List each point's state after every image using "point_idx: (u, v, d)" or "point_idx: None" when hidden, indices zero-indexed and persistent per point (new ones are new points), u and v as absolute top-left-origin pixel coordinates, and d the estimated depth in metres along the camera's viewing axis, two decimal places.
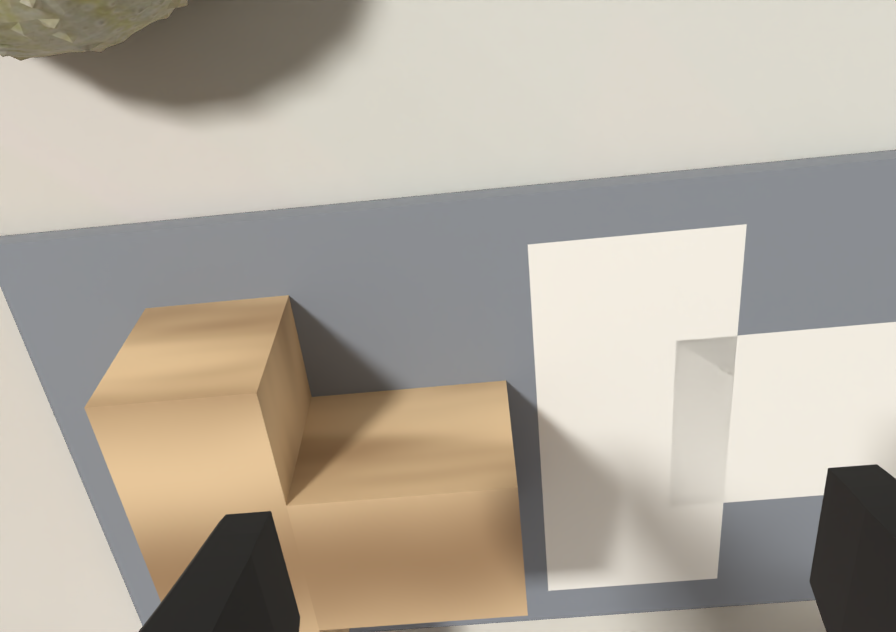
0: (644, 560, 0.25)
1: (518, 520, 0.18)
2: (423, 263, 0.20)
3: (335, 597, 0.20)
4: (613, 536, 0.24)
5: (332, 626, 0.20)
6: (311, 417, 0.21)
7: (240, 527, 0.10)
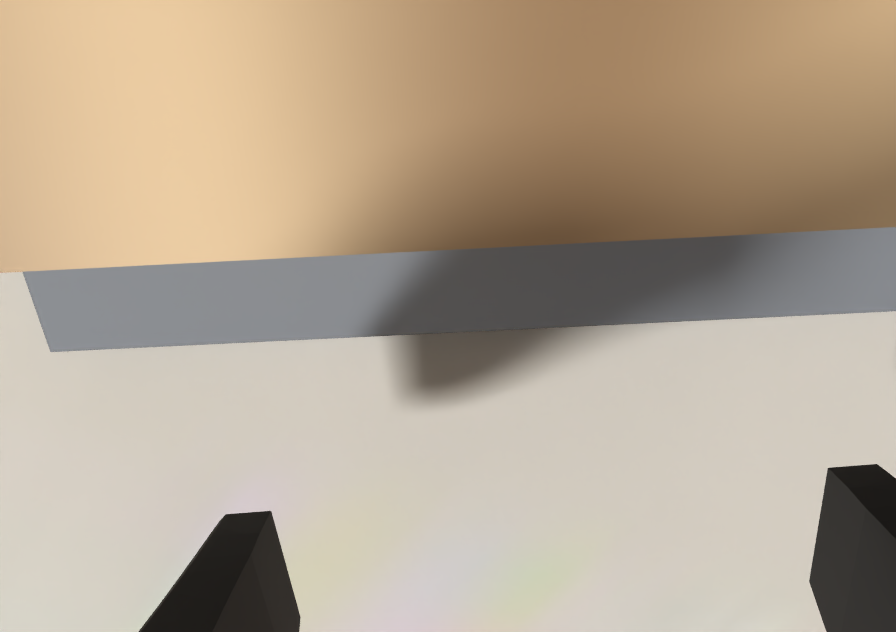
0: None
1: None
2: None
3: None
4: None
5: None
6: None
7: (241, 527, 0.10)
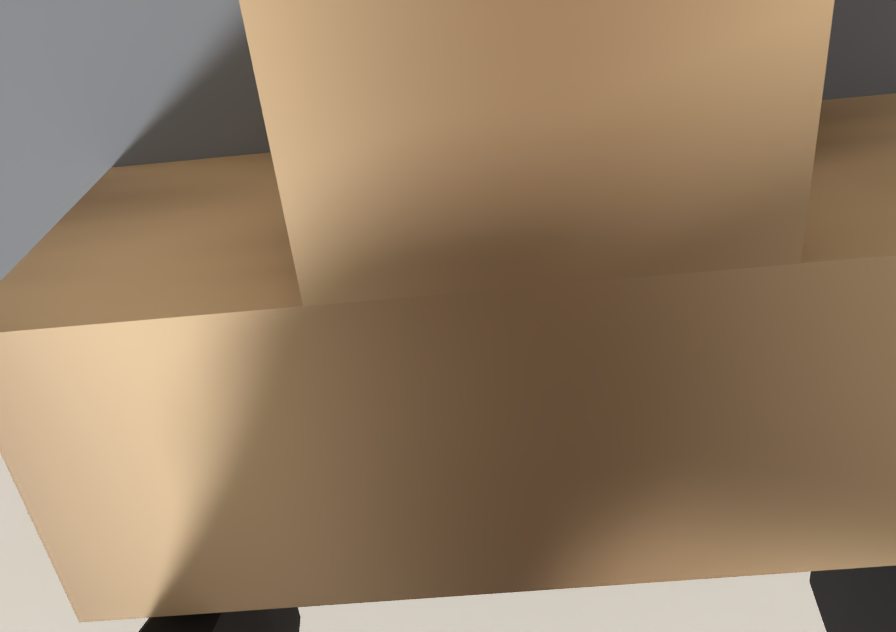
0: None
1: None
2: None
3: (667, 208, 0.06)
4: None
5: (793, 225, 0.07)
6: None
7: None
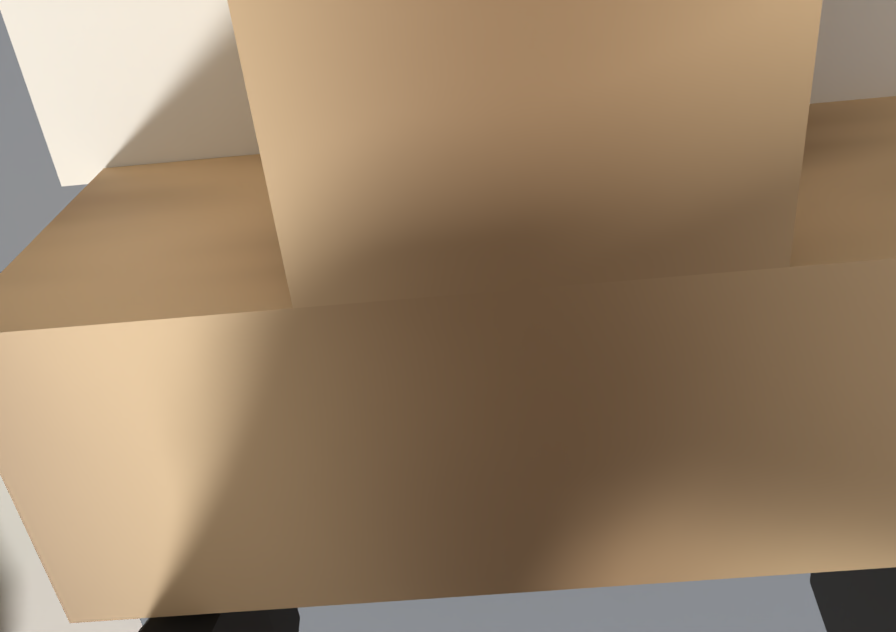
0: None
1: None
2: None
3: (656, 212, 0.06)
4: None
5: (781, 229, 0.07)
6: None
7: None
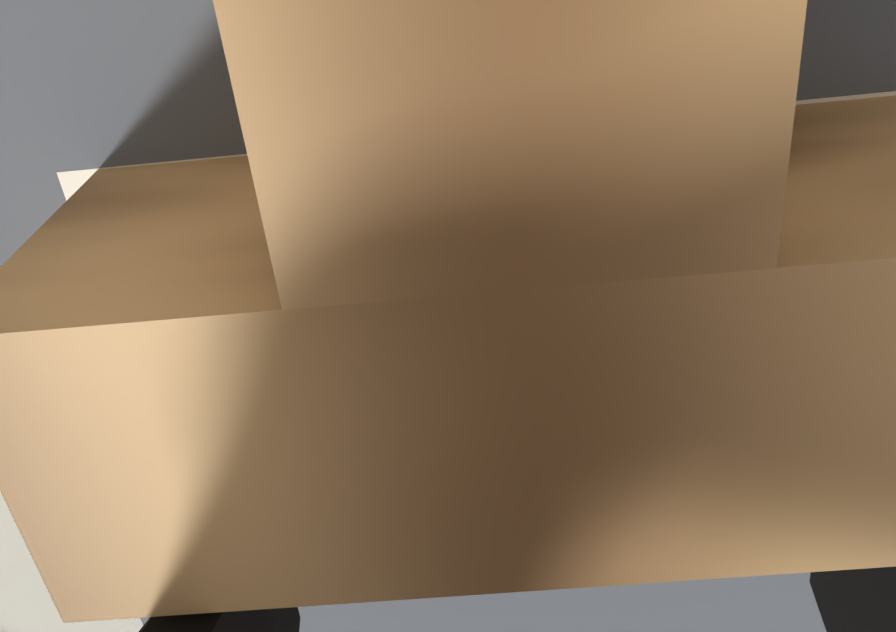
0: None
1: None
2: None
3: (643, 213, 0.07)
4: None
5: (769, 230, 0.07)
6: None
7: None
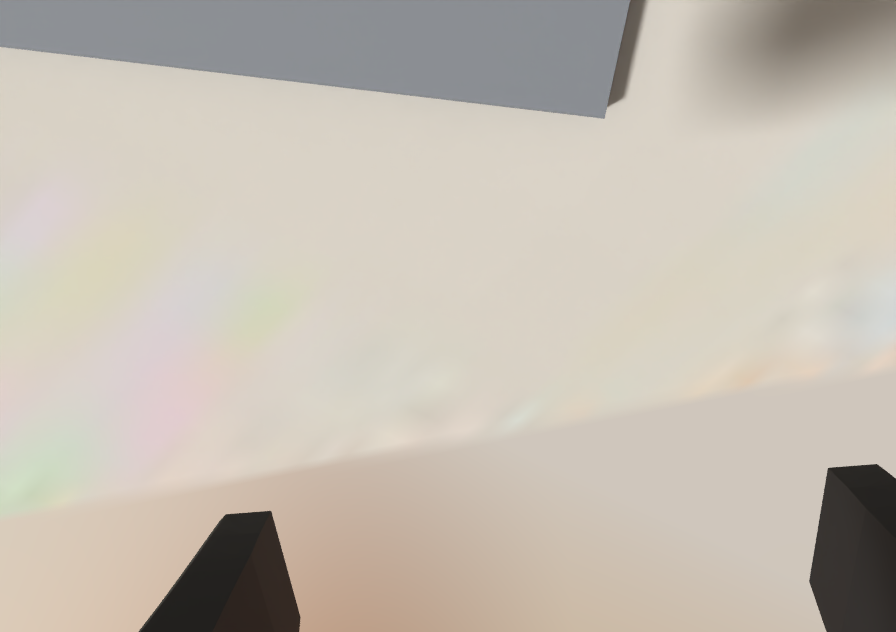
0: None
1: None
2: None
3: None
4: None
5: None
6: None
7: (241, 527, 0.10)
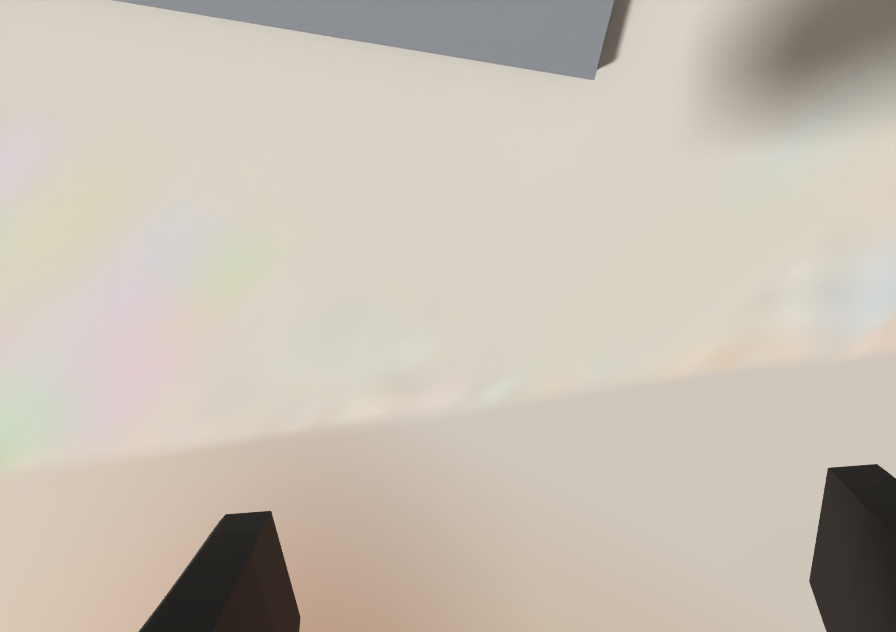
0: None
1: None
2: None
3: None
4: None
5: None
6: None
7: (241, 527, 0.10)
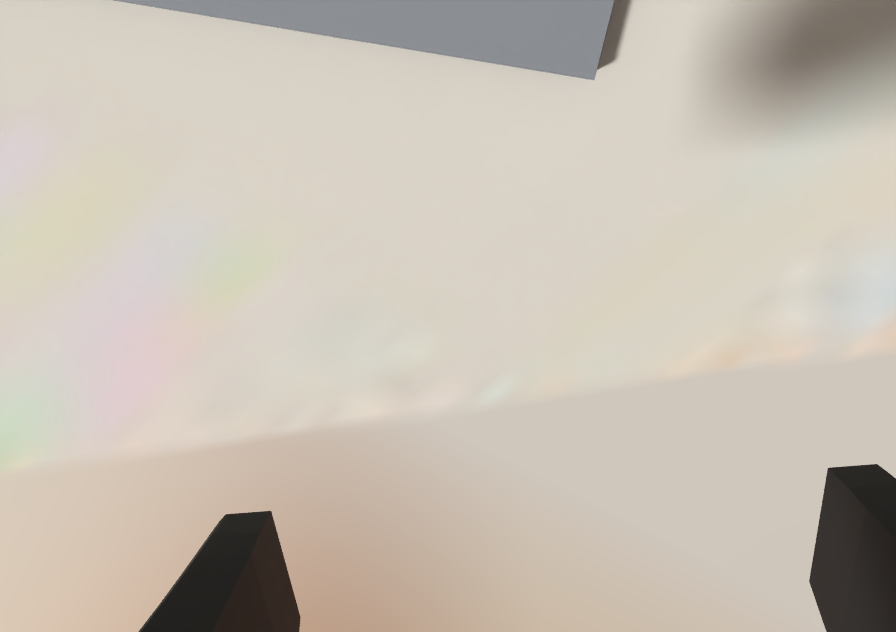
0: None
1: None
2: None
3: None
4: None
5: None
6: None
7: (241, 527, 0.10)
